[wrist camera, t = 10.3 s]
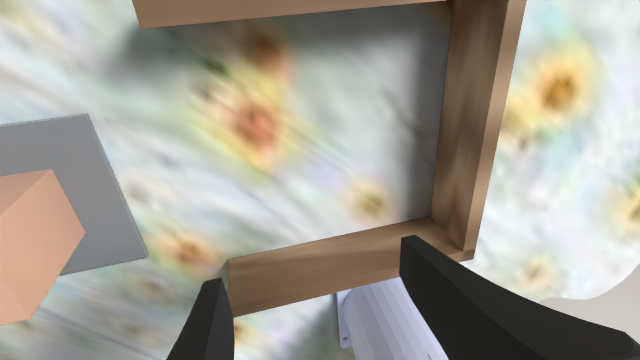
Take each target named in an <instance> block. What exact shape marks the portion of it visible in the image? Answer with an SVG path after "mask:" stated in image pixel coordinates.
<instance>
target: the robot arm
mask: <svg viewBox="0 0 640 360" xmlns="http://www.w3.org/2000/svg"><path fill="white" fill-rule="evenodd" d="M399 275H400V277H397V278H393V279H389V280H385V281H381V282H377V283H373V284H369V285H365V286H361V287H357V288H353V289H348V290H344V291H340V292H336V296H337V310H338V324H339V338H340V345H341V348H344V349H345V348H349V347H352V349H353V352H354V355H355V358H356V360H640V344H638V343H637V342H636V341H635V340H634V339H632V338H631V337H630V336H629V335H627V334H626V333H625V332H623V331H619V330H616V329H613V328H609V327H606V326H602V325H599V324H595V323H592V322H588V321H585V320H582V319H579V318H576V317H573V316H570V315H567V314H564V313H562V312H559V311H556V310H553V309H550V308H548V307H545V306H543V305H540V304H538V303H536V302H533V301H531V300H528V299H526V298H524V297H522V296H519V295H517V294H515V293H513V292H511V291H509V290H507V289H504V288H502V287H500V286H498V285H496V284H494V283H492V282H491V281H489V280H487V279H485V278H483V277H481V276H480V275H478V274H476V273H474V272H473V271H471V270H469V269H468V268H466V267H464V266H463V265H461V264H459V263H458V262H456V261H455V260H453V259H451V258H450V257H448V256H447V255H445V254H444V253H442V252H441V251H439V250H438V249H436V248H435V247H433V246H432V245H430V244H429V243H427V242H426V241H424V240H423V239H421V238H420V237H418V236H417V235H410V236H406V237H402V238H401V249H400V266H399ZM234 342H235V341H234V324H233V313H232V310H231V307H230V303H229V300H228V297H227V294H226V290H225V287H224V284H223V281H222V278H218V279H213V280H209V281H205V282H204V283H203V284H202V287H201V289H200V292H199V294H198V297H197V299H196V302H195V304H194V306H193V308H192V311H191V313H190V315H189V317H188V319H187V321H186V323H185V325H184V327H183V329H182V331H181V333H180V335H179V337H178V339H177V341H176V343H175V345H174V346H173V348H172V350H171V352H170V354H169V355H168V357H167V359H166V360H234Z"/></svg>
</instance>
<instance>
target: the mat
mask: <svg viewBox="0 0 640 360" xmlns="http://www.w3.org/2000/svg"><path fill="white" fill-rule="evenodd" d="M46 169H52V170H53V172H54V174H55V176H56V178H57V180H58V182H59V184H60V185H61V187H62V189H63V191H64V193H65V195H66V197H67V199H68V200H69V202H70V204H71V206H72V208H73V210H74V212H75V214H76V215H77V217H78V219H79V221H80V223H81V225H82V227H83V228H84V230H85V232H86V233H85V234H84V236H83V238H82V239H81V241H80V242H79V244H78V245H77V247H76V249H75V250H74V252H73V253H72V255H71V256H70V258H69V260H68V261H67V263H66V264H65V266H64V267H63V269H62V271H61V272H60V274H59V275H58V276H60V275H65V274H70V273H75V272H80V271H85V270H90V269H95V268H99V267H104V266H109V265H114V264H119V263H124V262H129V261H133V260H138V259H143V258H147V257H148V254H149V253H148V251H147V249H146V246H145V244H144V242H143V240H142V237H141V235H140V233H139V230H138V228H137V226H136V223H135V221H134V219H133V216H132V214H131V212H130V210H129V207H128V205H127V203H126V200H125V198H124V196H123V193H122V191H121V189H120V187H119V184H118V182H117V180H116V177H115V175H114V173H113V170H112V168H111V166H110V164H109V161H108V159H107V157H106V154H105V152H104V150H103V147H102V145H101V143H100V141H99V138H98V136H97V134H96V131H95V129H94V127H93V124H92V122H91V120H90V118H89V115H88V114H81V115H73V116H65V117H58V118H50V119H43V120H35V121H27V122H20V123H12V124H5V125H0V176H7V175H13V174H20V173H26V172H33V171H39V170H46Z"/></svg>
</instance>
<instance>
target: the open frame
mask: <svg viewBox="0 0 640 360" xmlns="http://www.w3.org/2000/svg"><path fill="white" fill-rule="evenodd" d="M433 1H444V0H132V2H133V5H134V8H135V12H136V15H137V18H138V21H139V24H140V28H141V29H144V28H155V27H166V26H176V25H187V24H198V23H208V22H219V21H230V20H241V19H251V18H262V17H273V16H283V15H294V14H305V13H315V12H326V11H337V10H347V9H358V8H369V7H380V6H390V5H401V4H412V3H422V2H433ZM526 1H527V0H454V5H453V14H452V23H451V32H450V41H449V50H448V59H447V68H446V77H445V87H444V96H443V105H442V114H441V123H440V132H439V141H438V150H437V159H436V168H435V177H434V186H433V195H432V204H431V213H430V217H425V218H420V219H416V220H411V221H406V222H402V223H397V224H392V225H388V226H383V227H378V228H374V229H369V230H364V231H360V232H355V233H350V234H346V235H341V236H337V237H332V238H327V239H323V240H318V241H313V242H309V243H304V244H299V245H295V246H290V247H285V248H281V249H276V250H271V251H267V252H262V253H257V254H253V255H248V256H243V257H239V258H234V259H229V260H228V300H229V303H230V307H231V310H232V313H233V318H234V317H238V316H242V315H246V314H250V313H254V312H259V311H263V310H267V309H271V308H275V307H279V306H283V305H287V304H291V303H295V302H299V301H303V300H308V299H312V298H316V297H320V296H324V295H328V294H332V293H336V292H340V291H344V290H348V289H353V288H357V287H361V286H365V285H369V284H373V283H377V282H381V281H385V280H389V279H393V278H397V277H400V275H399V266H400V249H401V238H402V237H406V236H410V235H417V236H418V237H420V238H421V239H423V240H424V241H426V242H427V243H429V244H430V245H432V246H433V247H435V248H436V249H438V250H439V251H441V252H442V253H444V254H445V255H447V256H448V257H450V258H451V259H453V260H455V261H456V262H458V263H459V262H463V261H467V260H471V259H473V258H474V253H475V248H476V244H477V239H478V234H479V229H480V224H481V219H482V214H483V210H484V205H485V200H486V195H487V190H488V185H489V180H490V176H491V171H492V166H493V161H494V156H495V151H496V146H497V142H498V137H499V132H500V127H501V122H502V117H503V112H504V108H505V103H506V98H507V93H508V88H509V83H510V78H511V74H512V69H513V64H514V59H515V54H516V49H517V44H518V40H519V35H520V30H521V25H522V20H523V15H524V10H525V6H526Z"/></svg>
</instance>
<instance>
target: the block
mask: <svg viewBox="0 0 640 360" xmlns="http://www.w3.org/2000/svg"><path fill="white" fill-rule="evenodd" d="M85 233H86V232H85V230H84V228H83V227H82V225H81V223H80V221H79V219H78V217H77V215H76V214H75V212H74V210H73V208H72V206H71V204H70V202H69V200H68V199H67V197H66V195H65V193H64V191H63V189H62V187H61V185H60V184H59V182H58V180H57V178H56V176H55V174H54V172H53V170H52V169H46V170H39V171H33V172H26V173H20V174H13V175H7V176H0V325H4V324H8V323H13V322H17V321H22V320H26V319H31V318H32V316H33V315H34V313H35V311H36V310H37V308H38V307H39V305H40V304H41V302H42V300H43V299H44V297H45V296H46V294H47V293H48V291H49V289H50V288H51V286H52V285H53V283H54V282H55V280H56V278H57V277H58V275H59V274H60V272H61V271H62V269H63V267H64V266H65V264H66V263H67V261H68V260H69V258H70V256H71V255H72V253H73V252H74V250H75V249H76V247H77V245H78V244H79V242H80V241H81V239H82V238H83V236H84V234H85Z"/></svg>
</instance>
